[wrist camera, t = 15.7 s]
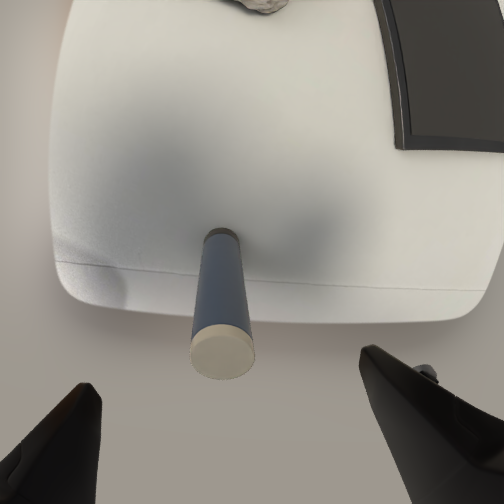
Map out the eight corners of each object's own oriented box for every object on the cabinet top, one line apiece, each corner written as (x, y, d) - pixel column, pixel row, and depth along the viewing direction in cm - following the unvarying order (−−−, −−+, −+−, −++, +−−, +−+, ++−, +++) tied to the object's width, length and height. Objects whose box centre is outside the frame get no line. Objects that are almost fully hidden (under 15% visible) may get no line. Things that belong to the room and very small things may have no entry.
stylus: (246, 241, 19) (268, 355, 9) (223, 266, 19) (227, 387, 10) (219, 220, 18) (216, 324, 9) (196, 246, 18) (177, 362, 9)
